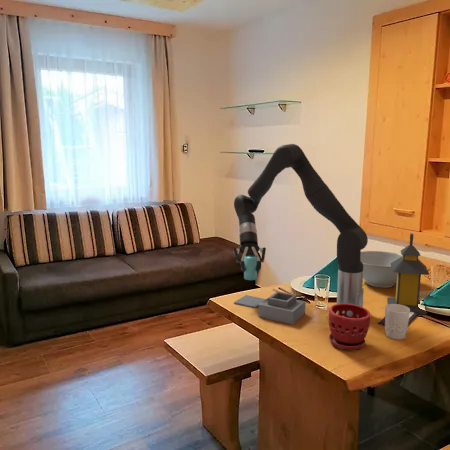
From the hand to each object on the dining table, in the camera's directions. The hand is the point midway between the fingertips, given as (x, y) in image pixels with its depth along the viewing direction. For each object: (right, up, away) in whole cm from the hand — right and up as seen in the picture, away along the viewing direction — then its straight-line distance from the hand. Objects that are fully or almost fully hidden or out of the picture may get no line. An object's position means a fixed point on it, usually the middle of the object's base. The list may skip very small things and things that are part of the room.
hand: (251, 270), depth 183 cm
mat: (0, -13, +5) cm, 14 cm away
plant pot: (+30, -21, -33) cm, 50 cm away
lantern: (+62, -14, -1) cm, 64 cm away
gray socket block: (+11, -16, -9) cm, 22 cm away
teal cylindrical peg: (0, -3, +3) cm, 4 cm away
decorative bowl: (+61, -9, +27) cm, 68 cm away
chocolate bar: (+54, -17, -14) cm, 59 cm away
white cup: (+48, -20, -27) cm, 59 cm away
